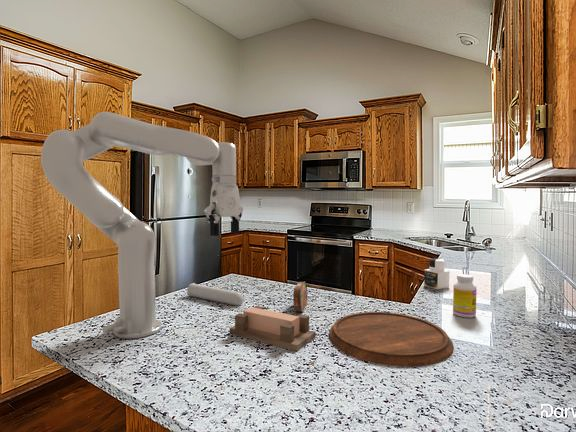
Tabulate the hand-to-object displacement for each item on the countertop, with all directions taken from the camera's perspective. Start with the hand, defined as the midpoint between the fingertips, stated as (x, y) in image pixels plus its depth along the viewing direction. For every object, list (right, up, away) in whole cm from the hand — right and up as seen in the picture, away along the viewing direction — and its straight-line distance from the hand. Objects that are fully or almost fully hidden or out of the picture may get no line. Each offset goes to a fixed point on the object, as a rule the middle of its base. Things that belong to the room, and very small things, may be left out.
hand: (225, 234), depth 112 cm
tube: (-7, -26, +17) cm, 31 cm away
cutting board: (+48, -28, -19) cm, 58 cm away
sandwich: (+25, -26, +7) cm, 37 cm away
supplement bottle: (+78, -26, -1) cm, 82 cm away
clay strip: (+16, -26, -17) cm, 34 cm away
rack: (+16, -27, -17) cm, 36 cm away
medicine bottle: (+84, -25, +35) cm, 94 cm away
